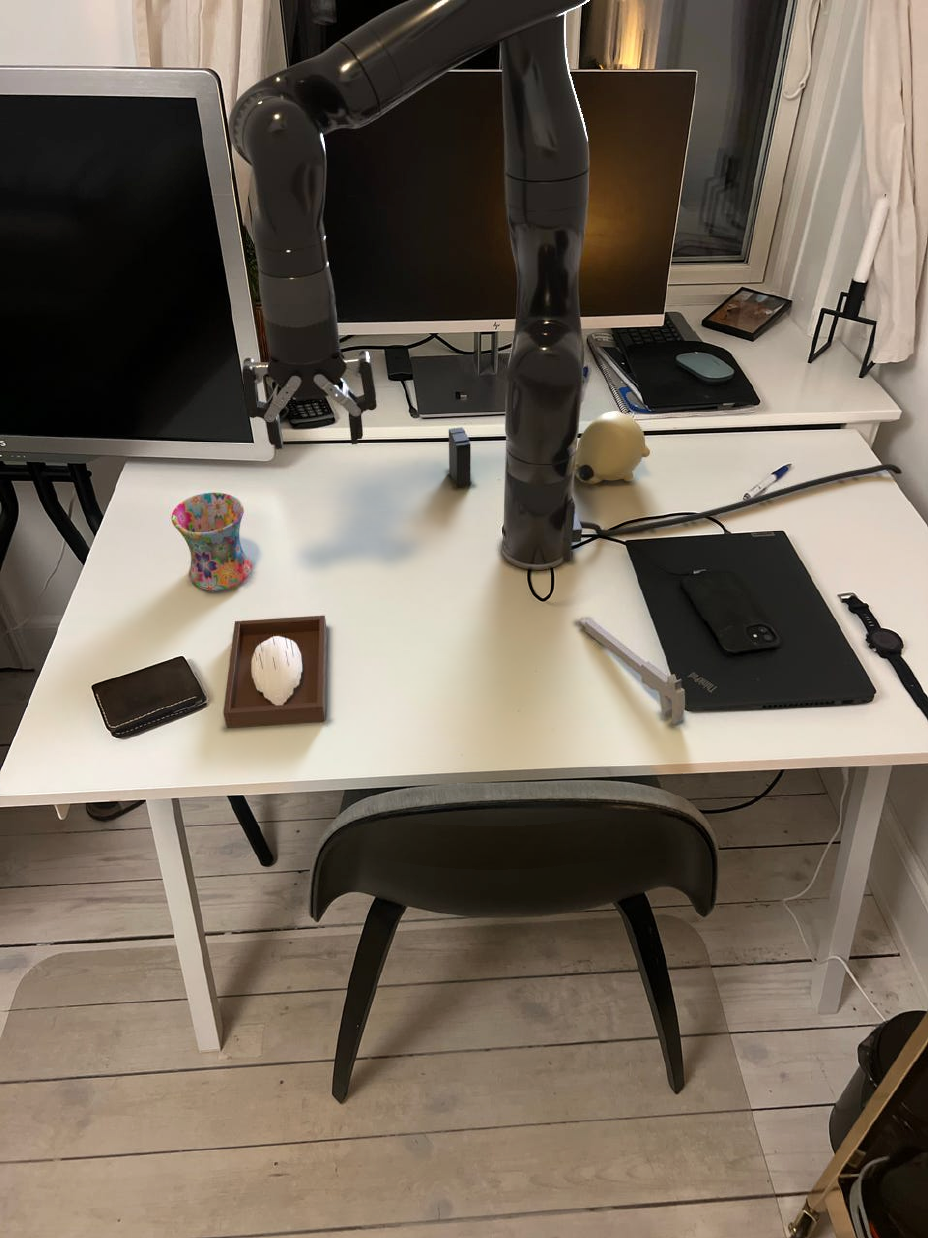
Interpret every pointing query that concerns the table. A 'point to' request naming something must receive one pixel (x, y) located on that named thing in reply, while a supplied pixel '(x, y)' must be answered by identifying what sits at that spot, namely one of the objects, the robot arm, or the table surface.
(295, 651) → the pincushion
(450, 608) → the table surface
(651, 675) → the caliper
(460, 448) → the ink cartridge
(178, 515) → the mug
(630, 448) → the toy pig
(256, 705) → the tray
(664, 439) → the table surface
